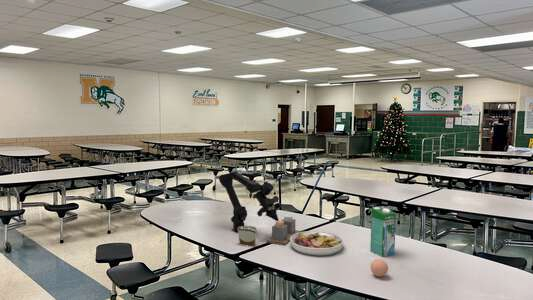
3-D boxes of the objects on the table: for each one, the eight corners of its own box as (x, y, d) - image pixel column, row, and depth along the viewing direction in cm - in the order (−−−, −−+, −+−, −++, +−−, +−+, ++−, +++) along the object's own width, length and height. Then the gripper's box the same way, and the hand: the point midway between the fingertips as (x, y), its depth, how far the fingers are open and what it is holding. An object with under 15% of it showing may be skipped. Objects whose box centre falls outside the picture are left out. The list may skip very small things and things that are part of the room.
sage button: (289, 222, 229) (290, 217, 229) (284, 221, 231) (284, 216, 230) (292, 220, 232) (292, 215, 232) (286, 219, 234) (286, 215, 234)
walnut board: (284, 245, 212) (284, 243, 212) (266, 242, 217) (266, 240, 217) (300, 232, 235) (300, 230, 235) (283, 230, 240) (283, 228, 240)
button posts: (282, 241, 215) (282, 228, 214) (271, 239, 218) (271, 226, 217) (295, 231, 234) (295, 219, 233) (285, 230, 237) (285, 217, 236)
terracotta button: (281, 228, 217) (281, 223, 216) (275, 227, 218) (275, 222, 218) (283, 226, 220) (283, 221, 220) (278, 225, 222) (278, 220, 221)
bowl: (312, 235, 231) (312, 223, 230) (353, 248, 209) (353, 234, 209) (279, 247, 210) (279, 234, 209) (321, 262, 188) (321, 247, 188)
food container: (260, 243, 215) (260, 227, 214) (256, 247, 209) (256, 230, 208) (242, 240, 220) (242, 224, 219) (237, 244, 214) (237, 227, 213)
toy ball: (384, 272, 176) (385, 256, 175) (390, 279, 168) (391, 263, 167) (368, 272, 176) (368, 256, 175) (373, 279, 168) (373, 263, 167)
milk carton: (382, 257, 195) (383, 211, 193) (370, 251, 203) (371, 207, 201) (394, 254, 199) (396, 209, 197) (382, 248, 207) (383, 205, 205)
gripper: (261, 194, 214) (276, 216, 208) (279, 189, 229) (294, 209, 223) (250, 205, 220) (265, 227, 214) (269, 200, 234) (283, 220, 229)
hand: (277, 220), depth 220 cm, fingers closed
